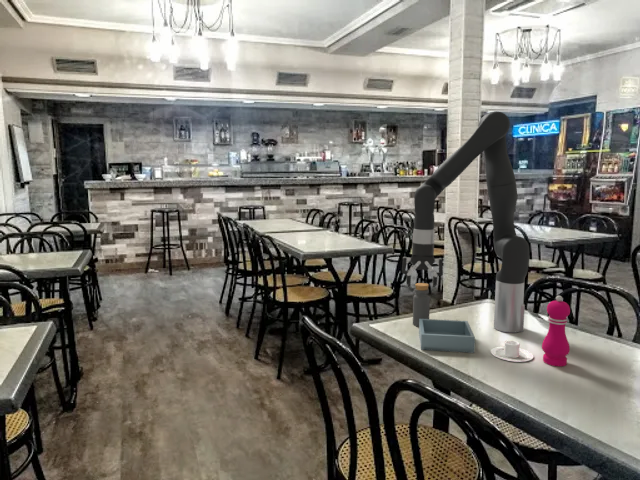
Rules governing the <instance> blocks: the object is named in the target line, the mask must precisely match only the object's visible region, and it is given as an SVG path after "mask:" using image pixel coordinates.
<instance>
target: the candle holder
mask: <svg viewBox="0 0 640 480" xmlns="http://www.w3.org/2000/svg"><path fill="white" fill-rule="evenodd" d="M520 343H521V342H519V341H517V340H509V339H508V340H506V341H504V346H497V347H496V346H495V347H493V348H491V350H490V353H491V355H493V356H494V357H496V358H498V359H500V360H504V361H506V362H507V361H509V362H515V363H517V362H520V363H522V362H524V363H525V362H529V361H532V360H533V359H534V354H533V353H532V352H531V351H530V350H529V351H528V350H527V349H524V348H521V347H520V345H521V344H520ZM502 350H504V356H506V357H507V358H506V357H502V356H500V355H499V354H498V353H497V352H499V351H502ZM520 353H522V354H524V355H525V356H526V358H524V359H523V358H522V359H517V358H519V356H520ZM515 358H516V359H515Z"/></svg>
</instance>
